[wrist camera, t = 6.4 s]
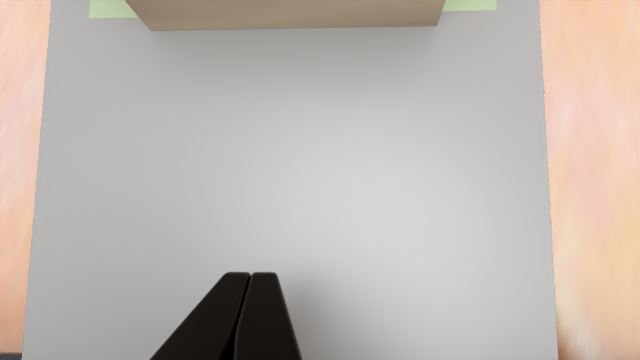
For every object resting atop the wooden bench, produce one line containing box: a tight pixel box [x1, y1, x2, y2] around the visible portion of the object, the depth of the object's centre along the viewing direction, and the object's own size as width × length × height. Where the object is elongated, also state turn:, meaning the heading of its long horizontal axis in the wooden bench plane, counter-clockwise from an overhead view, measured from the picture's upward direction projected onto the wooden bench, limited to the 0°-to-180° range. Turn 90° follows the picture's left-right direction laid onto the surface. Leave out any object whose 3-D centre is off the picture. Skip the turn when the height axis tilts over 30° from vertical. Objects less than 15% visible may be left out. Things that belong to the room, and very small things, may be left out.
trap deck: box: [0, 0, 558, 360], centre depth 15 cm, size 30×22×3 cm
